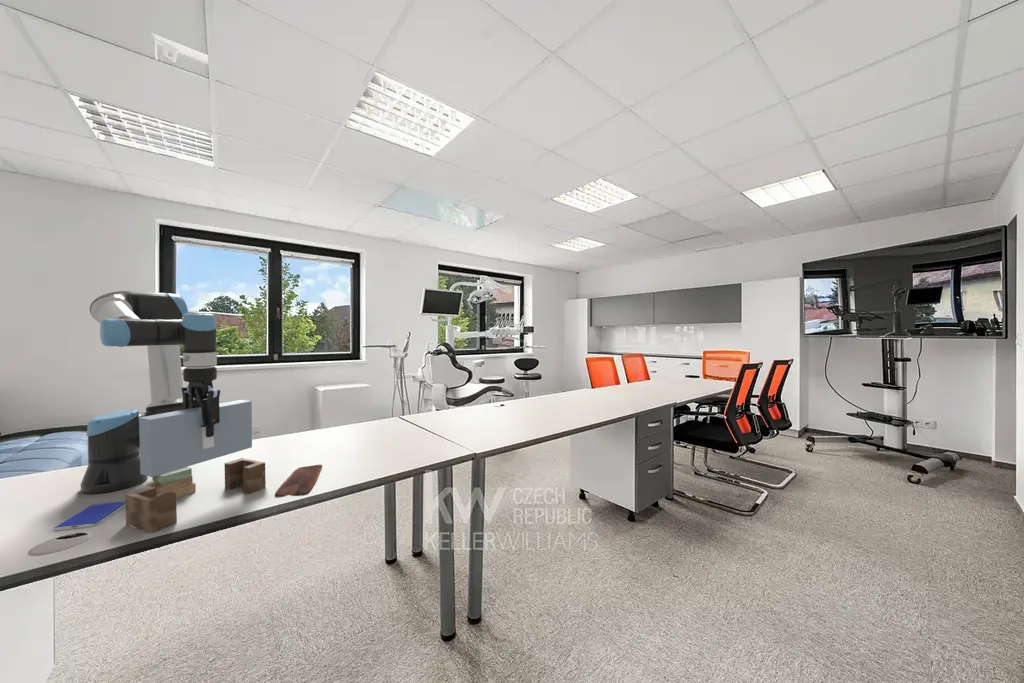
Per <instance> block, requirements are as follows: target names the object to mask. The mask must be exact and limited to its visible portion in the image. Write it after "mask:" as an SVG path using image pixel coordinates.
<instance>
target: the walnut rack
mask: <svg viewBox="0 0 1024 683" xmlns="http://www.w3.org/2000/svg"><path fill="white" fill-rule="evenodd" d="M242 485H243V493H245V494H248V495H249V494H253V493H254V492H256V491H259V490H261V489H264V488H266V462H265V461H264V462H263V461H257V460H253V459H247V458H244V457H240V458H237V459H234V460H231V461H228V462H225V463H224V488H225V489H229V490H230V489H235V488H237V487H239V486H242ZM124 497H125V498H124V499H125V500H124V501H125V506H124V507H125V525H127V526H130V527H133V528H135V529H139V530H140V531H141V530H142V531H143V532H147V533H150V534H153V533H155V532H157V531H160V530H164V529H165V528H167V527H170V526H173V525H175V524H177V523H178V519H177V518H178V517H177V516H178V515H177V514H178V513H177V509H178V508H177V498H176V493H174V492H168V493H165V494H162V495H159V496H156V488H155V487H151V486H150V487H149V486H147V487H144V488H141V489H138V490H135V491H131V492H128V493H125V495H124Z"/></svg>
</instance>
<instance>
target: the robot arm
mask: <svg viewBox="0 0 1024 683" xmlns="http://www.w3.org/2000/svg"><path fill="white" fill-rule="evenodd" d="M89 313H90V316H91V317H92V318H93V319H94V320H95V321H96V322H97V323H99V324H100V325H99V335H100V336H99V337H100V341H101V345H103V346H104V347H118V348H123V347H124V348H125V347H144V346H145V347H146V348H147V358H148V359H147V360H148V374H149V385H150V386H149V387H150V399H151V402H149V404H148V405H146V407H145V412H140V411H139V410H138V409H135V408H133V409H132V408H131V409H121V410H118V411H117V410H116V411H111V412H107V413H104V414H100V415H97V416H95V417H93V418H91V419H90V420H89V421H88V423H87V427H86V428H87V429H86V430H87V431H86V434H85V435H86V437H87V461H88V464H87V467H86V470H85V472H84V475H83V477H82V480H81V482H80V492H81V493H82V494H89V495H91V494H93V495H94V494H95V495H96V494H104V493H110V492H114V491H120V490H123V489H128V488H132V487H134V486H137V485H139V484H141V483H144V482H145V481H146V480H147V479H148V477H149V476H146V475H142V474H140V436H139V418H140V417H145V416H151V415H157V414H162V413H168V412H174V411H179V410H185V409H192V408H198V407H201V410H202V418H203V423H204V425H201V427H202V449H207V448H210V447H214V425H215V424H217V423H219V422H220V412H219V403H220V395H221V390H220V388H219V389H215V388H214V385H213V381H215V380H217V378H218V373H217V372H218V370H217V367H216V366H217V365H218V361H217V360H218V356H217V327H218V326H217V321H216V320H217V318H216V316H215V314H212V313H192V312H191V313H189V309H188V305H187V303H186V300H185V299H184V298H183V296H182V295H180V294H177V293H167V292H153V291H149V292H147V291H133V290H119V291H112V292H108V293H105V294H102V295H100V296H98V297H96V298H95V299H94V300H93V301H92V302H91V303H90V305H89ZM180 346H182V357H181V350H180V348H181V347H180ZM181 360H183V364H182V361H181ZM182 365H183V367H185V368H183V370H182ZM182 372H183V373H182ZM183 381H184V382H185V383H186V382H187V383H188V385H187V386H184V385H183Z"/></svg>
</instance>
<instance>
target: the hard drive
mask: <svg viewBox="0 0 1024 683" xmlns="http://www.w3.org/2000/svg"><path fill="white" fill-rule="evenodd" d="M124 507H126V506H125V500H124V501H115V502H114V501H113V502H107V503H106V502H105V503H96V504H95V503H94V504H91V505H88V506H87V507H85V508H84V509H82V510H81V511H80V512H78V513H76V514H74V515H73V516H71V517H69V518H67V519H66V520H64V521H63V522H61V523H59V524H58V525H56V526H54V527H53V531H61V530H62V531H63V530H70V529H78V528H89V527H95V526H97V525H98V524H100V523H102V522H103V521H105V520H106V519H108V518H109V517H110V516H112V515H113V514H115V513H117V512H118V511H120V510H121V509H123V508H124Z"/></svg>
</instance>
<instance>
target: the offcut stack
mask: <svg viewBox="0 0 1024 683" xmlns="http://www.w3.org/2000/svg"><path fill="white" fill-rule="evenodd" d="M151 478H152V481H153V482H150V483H148V487H150V486H151V487H155V488H156V496H159V495H162V494H165V493H168V492H174V493H176V499H177V498H181V497H183V496H186V495H189V494H191V493H194V492H196V490H197V489H196V483H195V482H194V480H193V472H192V467H190V466H188V467H184V468H181V469H178V470H174V471H171V472H168V473H164V474H161V475H157V476H154V477H151Z"/></svg>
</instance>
